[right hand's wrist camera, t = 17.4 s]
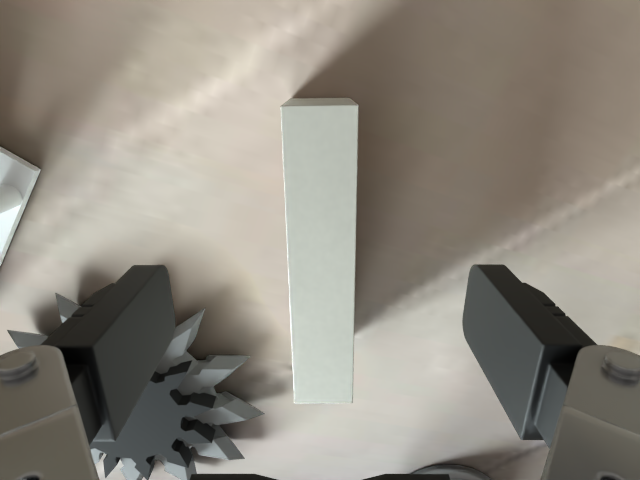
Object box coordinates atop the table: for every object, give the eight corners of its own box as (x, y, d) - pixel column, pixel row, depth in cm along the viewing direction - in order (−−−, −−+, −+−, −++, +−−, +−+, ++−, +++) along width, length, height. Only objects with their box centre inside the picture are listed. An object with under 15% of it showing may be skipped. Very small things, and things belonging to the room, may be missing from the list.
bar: (290, 98, 36) (280, 105, 27) (349, 97, 36) (358, 104, 27) (299, 339, 45) (294, 404, 37) (346, 339, 45) (352, 403, 37)
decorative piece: (52, 232, 36) (321, 397, 43) (76, 218, 40) (321, 372, 47) (-65, 436, 45) (174, 546, 52) (-36, 409, 49) (183, 516, 56)
